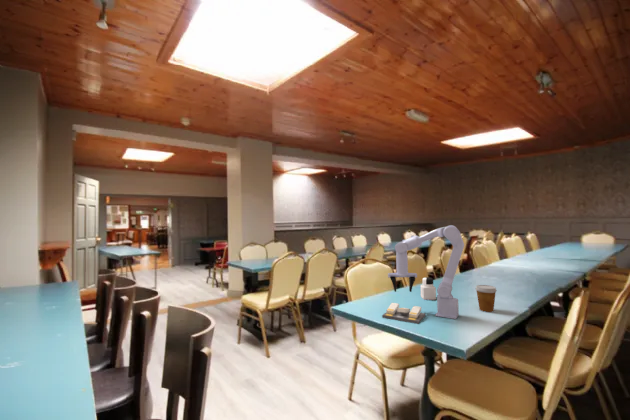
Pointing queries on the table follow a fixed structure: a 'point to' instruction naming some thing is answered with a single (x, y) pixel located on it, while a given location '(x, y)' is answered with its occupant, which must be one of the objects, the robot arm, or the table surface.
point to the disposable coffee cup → (486, 297)
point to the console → (404, 317)
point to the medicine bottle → (428, 289)
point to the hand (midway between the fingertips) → (402, 291)
